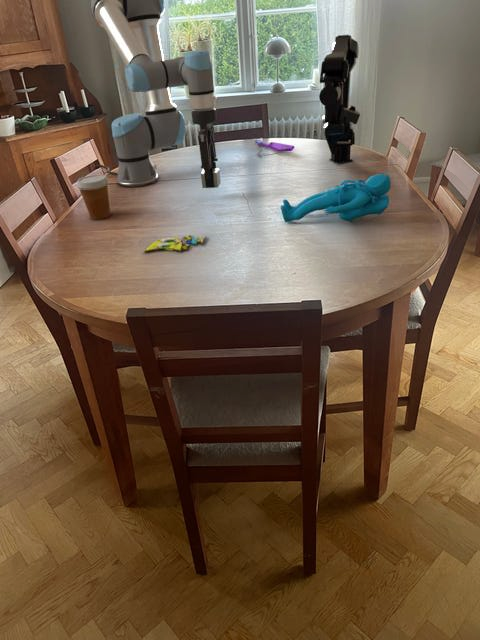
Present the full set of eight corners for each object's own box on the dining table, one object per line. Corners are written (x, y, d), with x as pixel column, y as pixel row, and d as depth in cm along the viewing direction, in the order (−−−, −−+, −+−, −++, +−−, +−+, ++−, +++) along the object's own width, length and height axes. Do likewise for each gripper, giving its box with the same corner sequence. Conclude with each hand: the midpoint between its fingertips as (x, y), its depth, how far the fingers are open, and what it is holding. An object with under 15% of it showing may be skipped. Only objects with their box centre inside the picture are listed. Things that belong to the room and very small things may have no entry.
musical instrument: (281, 159, 196) (302, 141, 209) (280, 154, 195) (302, 136, 207) (233, 159, 209) (255, 142, 221) (232, 155, 208) (255, 137, 220)
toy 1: (199, 248, 125) (143, 249, 127) (199, 251, 125) (144, 252, 127) (206, 233, 133) (154, 234, 135) (206, 236, 133) (154, 237, 136)
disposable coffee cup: (79, 220, 152) (69, 182, 146) (97, 209, 159) (88, 173, 153) (104, 222, 149) (94, 184, 142) (121, 211, 156) (113, 174, 150)
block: (218, 187, 156) (216, 172, 153) (202, 188, 156) (200, 173, 154) (220, 182, 160) (219, 168, 157) (205, 183, 160) (203, 168, 158)
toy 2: (284, 188, 143) (387, 162, 133) (293, 221, 149) (393, 198, 138) (276, 209, 130) (390, 181, 120) (286, 244, 135) (397, 221, 125)
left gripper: (210, 113, 137) (218, 193, 150) (220, 102, 152) (227, 176, 165) (184, 115, 138) (195, 194, 151) (197, 104, 153) (205, 176, 166)
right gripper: (362, 104, 146) (359, 156, 154) (356, 94, 161) (354, 142, 170) (324, 106, 147) (324, 158, 156) (323, 96, 163) (322, 144, 171)
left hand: (211, 184), depth 158 cm, fingers closed on block, 5 cm apart
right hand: (332, 150), depth 163 cm, fingers open, 9 cm apart
